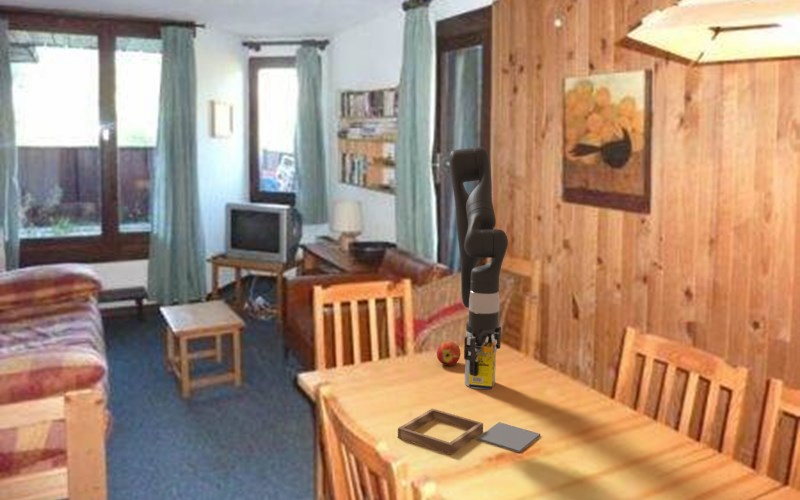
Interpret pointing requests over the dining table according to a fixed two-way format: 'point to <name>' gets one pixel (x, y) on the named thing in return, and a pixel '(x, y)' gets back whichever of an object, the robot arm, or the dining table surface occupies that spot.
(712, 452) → the dining table surface
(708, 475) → the dining table surface
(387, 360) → the dining table surface
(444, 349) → the apple
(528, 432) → the mat
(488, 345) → the supplement box
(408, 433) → the frame
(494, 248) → the robot arm
